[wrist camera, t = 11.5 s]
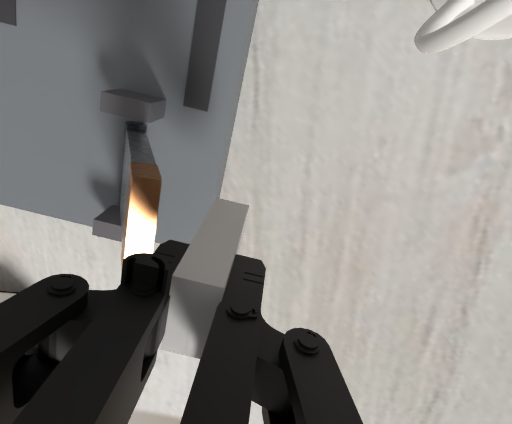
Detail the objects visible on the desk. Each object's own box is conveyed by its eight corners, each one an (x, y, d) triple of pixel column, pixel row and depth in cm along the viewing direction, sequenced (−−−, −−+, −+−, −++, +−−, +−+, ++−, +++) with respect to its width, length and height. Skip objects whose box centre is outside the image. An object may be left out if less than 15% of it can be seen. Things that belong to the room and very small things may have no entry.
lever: (124, 119, 21) (131, 171, 14) (146, 123, 21) (164, 174, 14) (117, 200, 23) (120, 283, 16) (138, 201, 23) (149, 282, 16)
